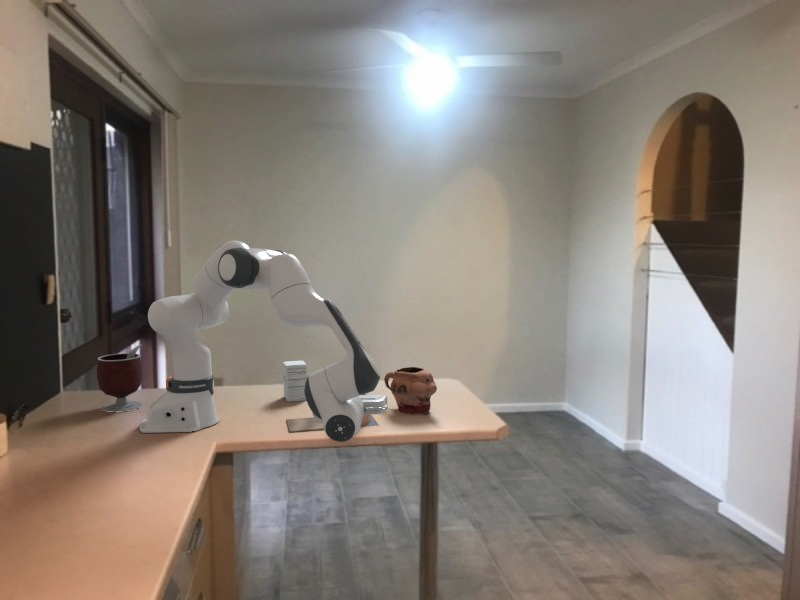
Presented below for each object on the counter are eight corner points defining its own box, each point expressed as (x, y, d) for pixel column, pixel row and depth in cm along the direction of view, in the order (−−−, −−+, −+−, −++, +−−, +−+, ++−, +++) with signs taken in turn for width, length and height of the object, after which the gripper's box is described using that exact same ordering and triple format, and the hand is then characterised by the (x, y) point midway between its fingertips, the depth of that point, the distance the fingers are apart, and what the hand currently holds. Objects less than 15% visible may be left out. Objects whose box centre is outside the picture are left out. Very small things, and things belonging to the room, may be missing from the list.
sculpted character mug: (373, 411, 202) (372, 368, 200) (393, 402, 212) (392, 362, 210) (427, 420, 191) (427, 375, 190) (446, 411, 202) (446, 368, 200)
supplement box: (283, 396, 221) (282, 361, 220) (304, 395, 223) (303, 359, 222) (286, 402, 214) (285, 365, 213) (308, 400, 216) (307, 364, 215)
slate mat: (338, 430, 182) (338, 428, 182) (332, 418, 194) (332, 417, 194) (379, 427, 185) (379, 425, 185) (371, 416, 197) (371, 414, 196)
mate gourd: (115, 416, 199) (112, 353, 197) (89, 409, 206) (86, 349, 204) (157, 404, 212) (154, 345, 210) (131, 399, 219) (128, 342, 217)
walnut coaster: (289, 434, 179) (289, 431, 179) (286, 422, 190) (286, 419, 190) (331, 431, 182) (331, 427, 181) (326, 419, 193) (326, 416, 193)
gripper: (387, 397, 162) (388, 385, 175) (307, 398, 162) (315, 386, 176) (387, 421, 162) (389, 407, 176) (308, 422, 163) (316, 408, 176)
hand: (351, 397), depth 176 cm, fingers open, 8 cm apart
